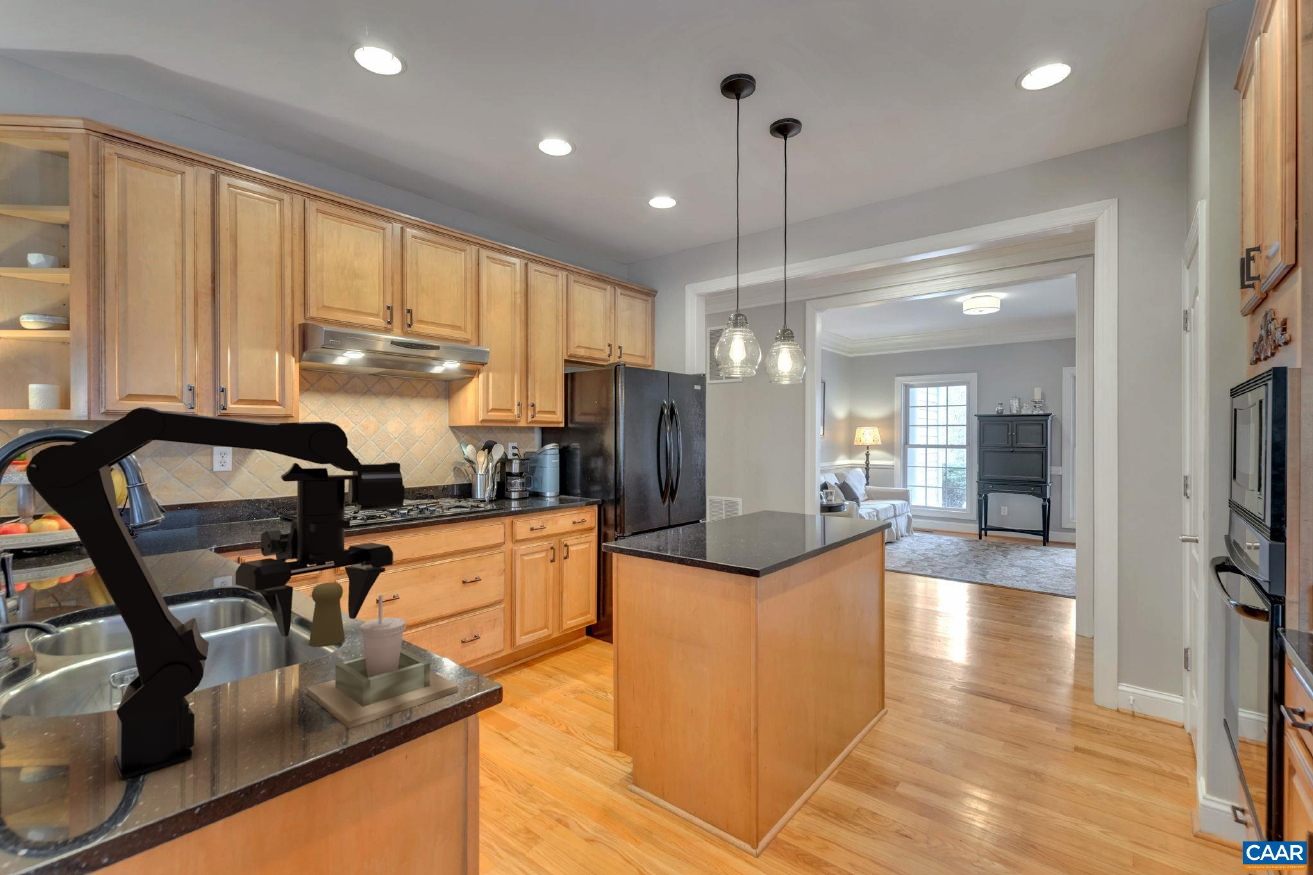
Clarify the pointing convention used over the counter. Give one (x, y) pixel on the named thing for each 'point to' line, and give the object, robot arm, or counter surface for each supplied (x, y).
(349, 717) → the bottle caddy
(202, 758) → the counter surface
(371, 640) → the smoothie
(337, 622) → the cork
